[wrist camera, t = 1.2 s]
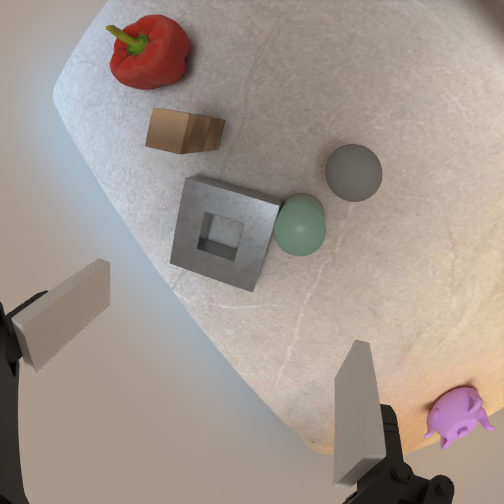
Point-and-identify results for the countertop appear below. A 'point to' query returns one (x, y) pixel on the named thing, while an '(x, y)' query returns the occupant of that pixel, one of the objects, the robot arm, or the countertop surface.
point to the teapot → (456, 415)
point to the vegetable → (149, 52)
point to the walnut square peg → (183, 132)
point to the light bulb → (353, 172)
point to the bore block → (231, 207)
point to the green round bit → (300, 225)
